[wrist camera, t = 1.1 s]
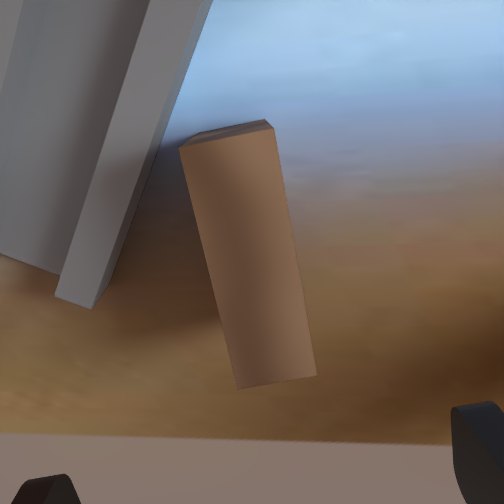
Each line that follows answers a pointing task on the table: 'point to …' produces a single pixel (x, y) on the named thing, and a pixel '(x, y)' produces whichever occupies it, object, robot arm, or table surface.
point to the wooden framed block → (250, 251)
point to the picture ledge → (84, 126)
